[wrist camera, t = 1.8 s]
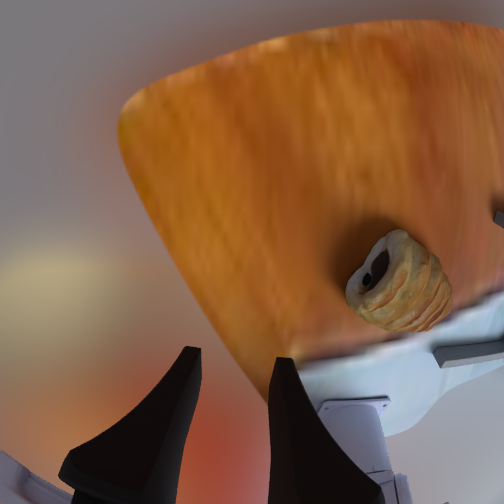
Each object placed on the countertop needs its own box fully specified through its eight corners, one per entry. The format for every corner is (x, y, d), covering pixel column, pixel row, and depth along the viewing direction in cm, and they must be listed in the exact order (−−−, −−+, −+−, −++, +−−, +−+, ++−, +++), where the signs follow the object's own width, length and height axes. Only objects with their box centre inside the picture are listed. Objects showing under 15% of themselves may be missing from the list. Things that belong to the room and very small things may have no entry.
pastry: (459, 275, 18) (482, 301, 15) (409, 333, 21) (424, 364, 18) (388, 216, 17) (413, 241, 13) (330, 292, 19) (341, 328, 16)
